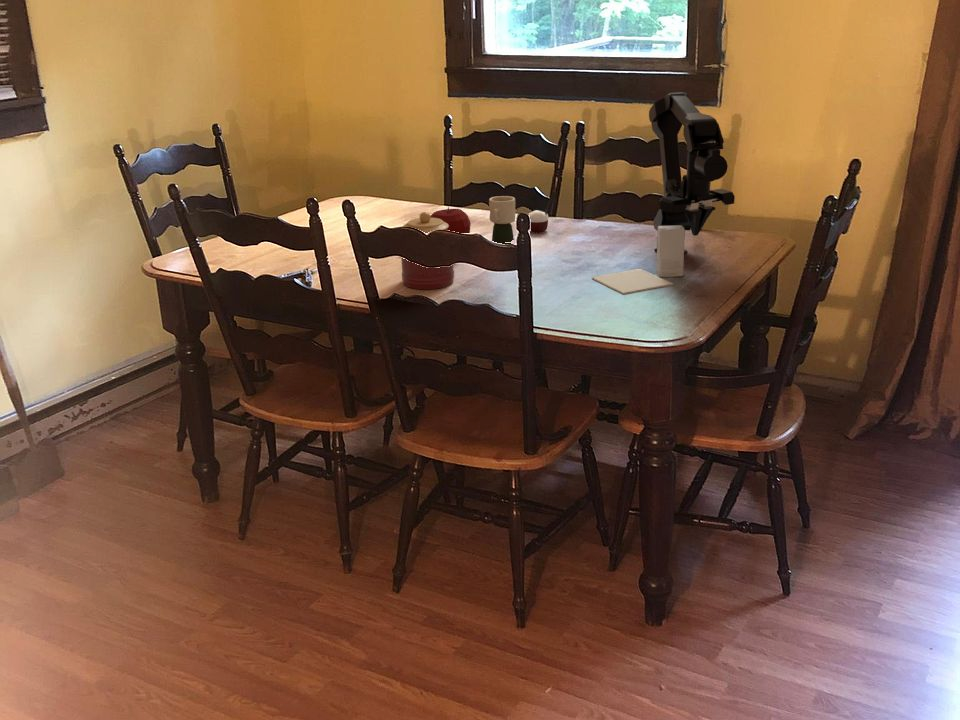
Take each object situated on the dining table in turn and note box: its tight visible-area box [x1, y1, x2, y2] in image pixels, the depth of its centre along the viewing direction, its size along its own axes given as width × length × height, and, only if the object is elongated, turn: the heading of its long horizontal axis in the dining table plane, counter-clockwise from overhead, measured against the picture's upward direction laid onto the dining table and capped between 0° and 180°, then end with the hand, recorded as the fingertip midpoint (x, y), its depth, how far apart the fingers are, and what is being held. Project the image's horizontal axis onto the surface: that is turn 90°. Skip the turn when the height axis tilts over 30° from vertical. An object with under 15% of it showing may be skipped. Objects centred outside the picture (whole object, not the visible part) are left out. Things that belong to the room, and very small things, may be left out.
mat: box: [591, 268, 674, 295], centre depth 226 cm, size 14×14×1 cm
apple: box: [430, 206, 472, 234], centre depth 250 cm, size 12×12×13 cm
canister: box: [400, 211, 455, 290], centre depth 228 cm, size 13×13×18 cm
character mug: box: [488, 195, 516, 245], centre depth 258 cm, size 11×7×13 cm, turn 156°
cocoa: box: [528, 189, 555, 234], centre depth 270 cm, size 10×6×12 cm, turn 62°
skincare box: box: [656, 225, 686, 278], centre depth 228 cm, size 6×4×12 cm
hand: (695, 235), depth 230 cm, fingers closed
